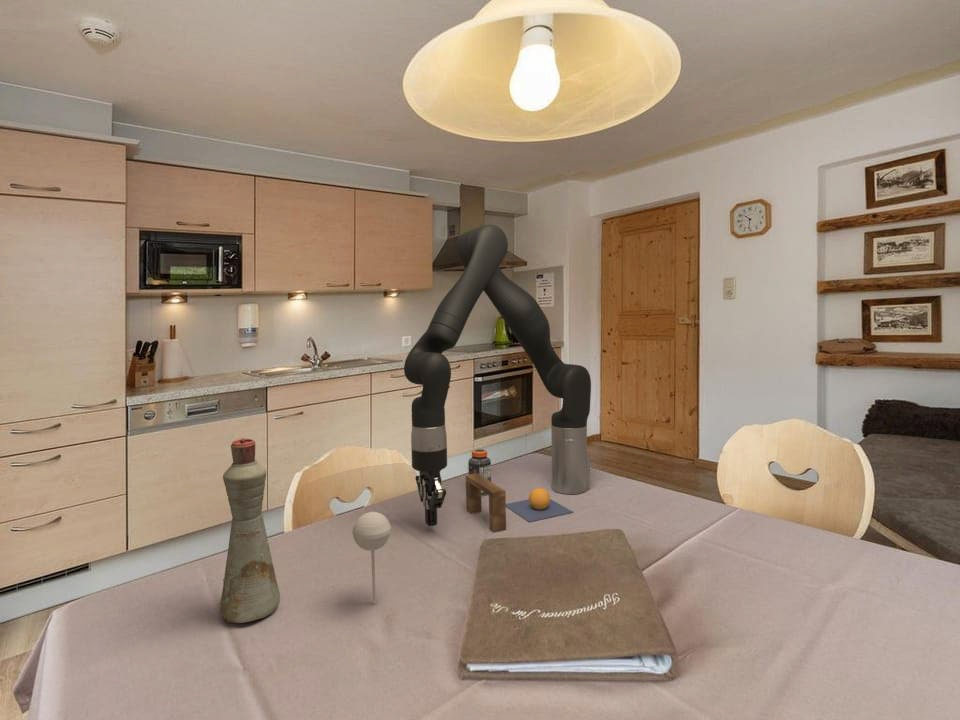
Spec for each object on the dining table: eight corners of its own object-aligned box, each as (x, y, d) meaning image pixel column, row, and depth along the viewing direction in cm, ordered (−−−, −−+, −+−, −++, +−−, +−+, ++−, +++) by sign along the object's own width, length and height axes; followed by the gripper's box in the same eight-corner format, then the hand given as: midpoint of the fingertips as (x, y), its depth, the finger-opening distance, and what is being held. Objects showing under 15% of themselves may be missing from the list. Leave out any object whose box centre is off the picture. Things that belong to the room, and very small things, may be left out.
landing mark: (544, 496, 129) (544, 496, 129) (573, 512, 118) (573, 511, 118) (503, 505, 124) (503, 504, 124) (529, 522, 113) (529, 521, 113)
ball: (546, 493, 125) (533, 481, 123) (557, 499, 120) (545, 487, 118) (533, 509, 123) (521, 497, 122) (545, 516, 119) (532, 504, 117)
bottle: (218, 634, 75) (206, 447, 72) (222, 603, 83) (211, 434, 81) (281, 619, 78) (272, 440, 76) (279, 591, 86) (270, 428, 84)
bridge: (477, 508, 122) (477, 473, 121) (506, 529, 110) (505, 490, 109) (466, 510, 121) (465, 475, 120) (493, 532, 108) (493, 492, 108)
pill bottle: (465, 490, 135) (464, 449, 134) (485, 487, 137) (484, 446, 136) (474, 497, 130) (473, 454, 129) (495, 494, 132) (494, 451, 131)
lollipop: (401, 602, 82) (398, 512, 81) (370, 618, 78) (367, 523, 76) (378, 589, 86) (375, 503, 85) (348, 604, 82) (344, 513, 81)
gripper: (457, 450, 104) (459, 532, 105) (434, 437, 116) (436, 511, 117) (422, 455, 100) (425, 539, 102) (402, 441, 112) (405, 517, 114)
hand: (431, 524), depth 109 cm, fingers closed
